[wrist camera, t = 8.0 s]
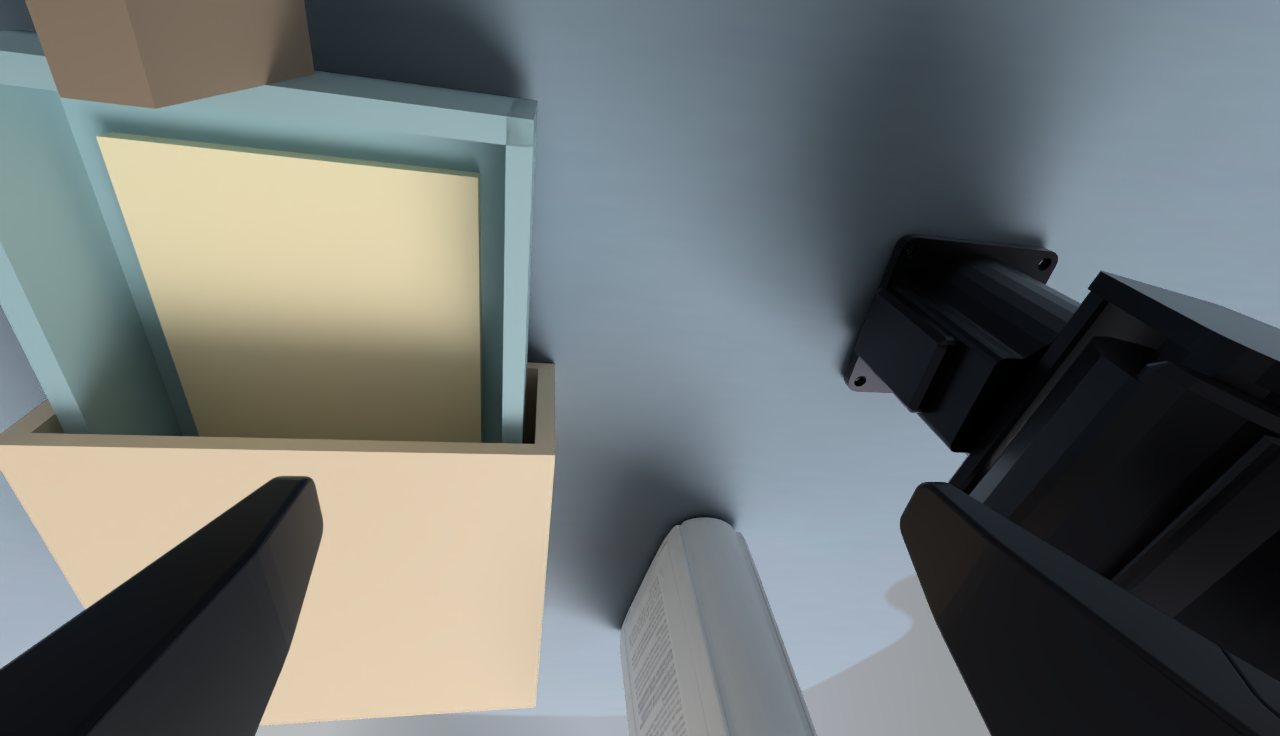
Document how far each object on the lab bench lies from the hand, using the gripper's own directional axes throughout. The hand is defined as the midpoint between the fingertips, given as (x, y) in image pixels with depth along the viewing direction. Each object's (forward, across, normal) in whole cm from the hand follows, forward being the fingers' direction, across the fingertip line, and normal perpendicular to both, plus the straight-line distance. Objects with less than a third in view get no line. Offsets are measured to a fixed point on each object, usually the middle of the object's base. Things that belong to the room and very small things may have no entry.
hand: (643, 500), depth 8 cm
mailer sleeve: (+12, +8, +12) cm, 19 cm away
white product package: (+12, -6, +18) cm, 23 cm away
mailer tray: (+11, +8, +1) cm, 14 cm away
